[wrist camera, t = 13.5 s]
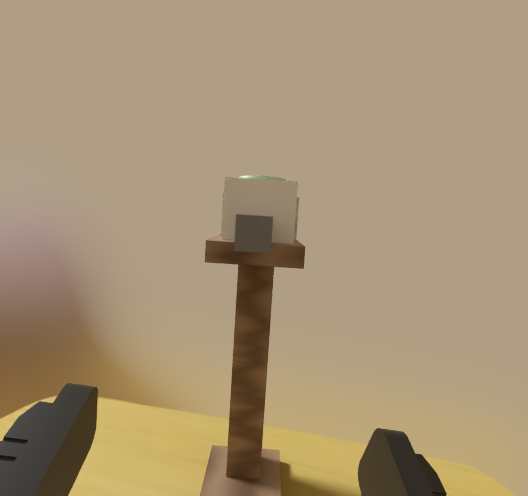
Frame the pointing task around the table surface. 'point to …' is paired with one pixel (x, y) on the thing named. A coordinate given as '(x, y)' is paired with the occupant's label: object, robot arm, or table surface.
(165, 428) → the table surface
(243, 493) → the wooden pedestal stand
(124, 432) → the table surface
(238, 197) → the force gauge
